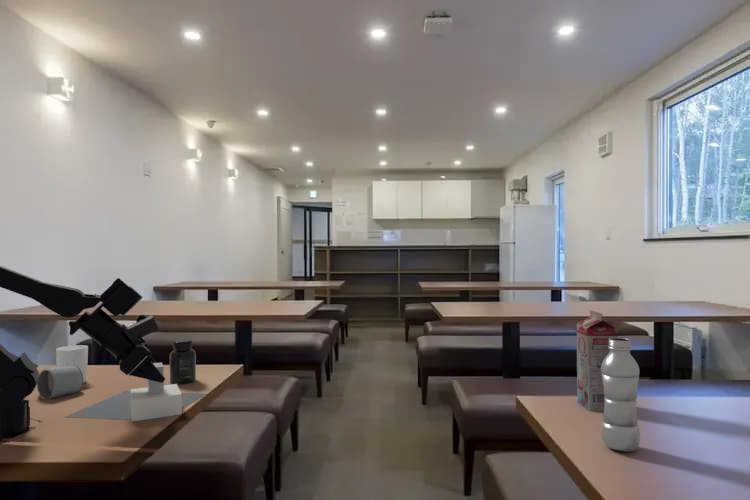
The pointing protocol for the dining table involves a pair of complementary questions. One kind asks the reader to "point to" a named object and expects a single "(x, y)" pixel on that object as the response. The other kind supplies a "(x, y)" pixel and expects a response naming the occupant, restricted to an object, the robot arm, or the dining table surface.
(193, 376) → the supplement bottle
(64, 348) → the white cup
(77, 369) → the ceramic mug
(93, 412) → the mat
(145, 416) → the cover
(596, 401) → the juice carton
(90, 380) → the dining table surface
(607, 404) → the plastic bottle
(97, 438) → the dining table surface
